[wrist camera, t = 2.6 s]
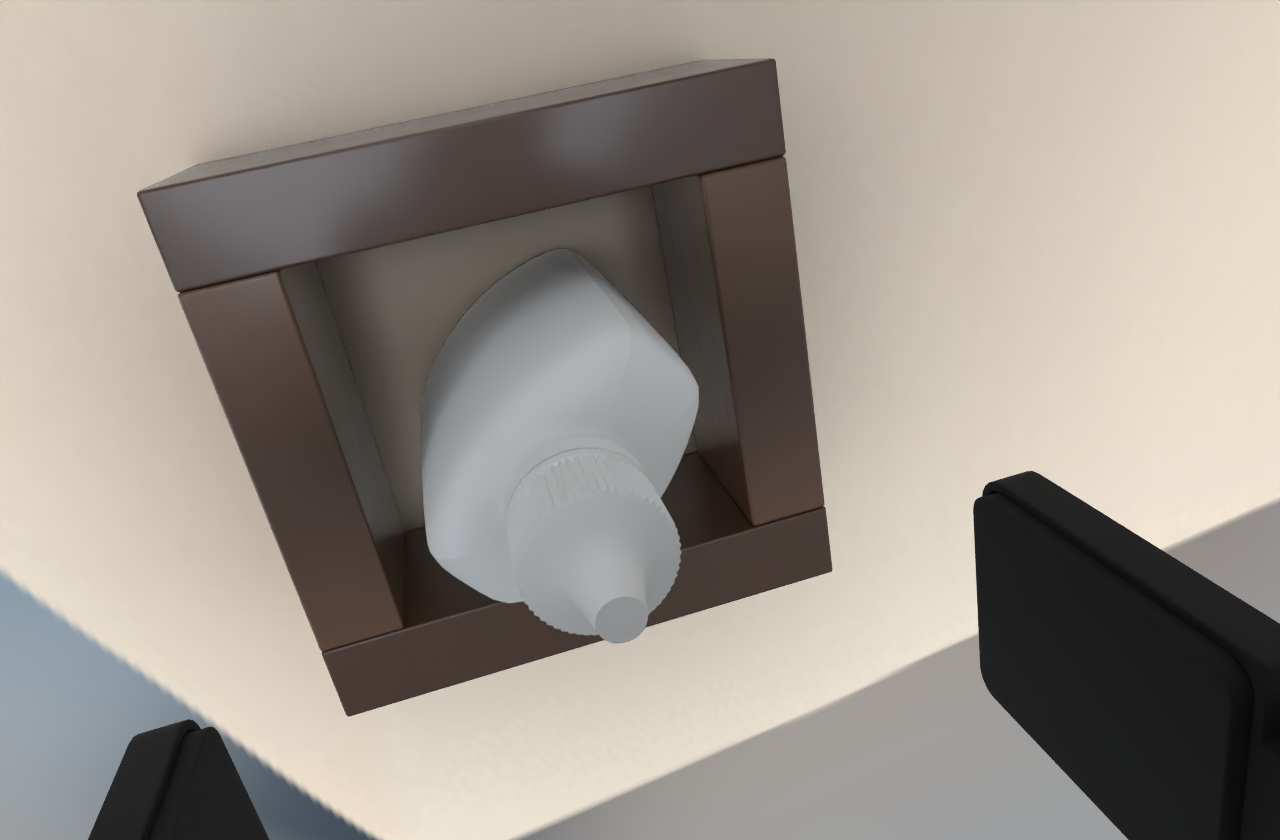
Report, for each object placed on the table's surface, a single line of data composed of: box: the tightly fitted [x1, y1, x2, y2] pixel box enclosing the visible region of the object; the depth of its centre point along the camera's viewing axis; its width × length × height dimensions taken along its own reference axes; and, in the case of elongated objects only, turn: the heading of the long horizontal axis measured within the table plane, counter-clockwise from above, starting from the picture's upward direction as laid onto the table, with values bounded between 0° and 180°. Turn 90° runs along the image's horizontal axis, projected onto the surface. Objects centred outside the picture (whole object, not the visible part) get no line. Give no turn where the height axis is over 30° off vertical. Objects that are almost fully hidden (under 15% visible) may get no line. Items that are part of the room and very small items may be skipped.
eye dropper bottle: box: [421, 249, 699, 643], centre depth 17 cm, size 4×6×12 cm
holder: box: [137, 58, 832, 716], centre depth 20 cm, size 12×12×4 cm
